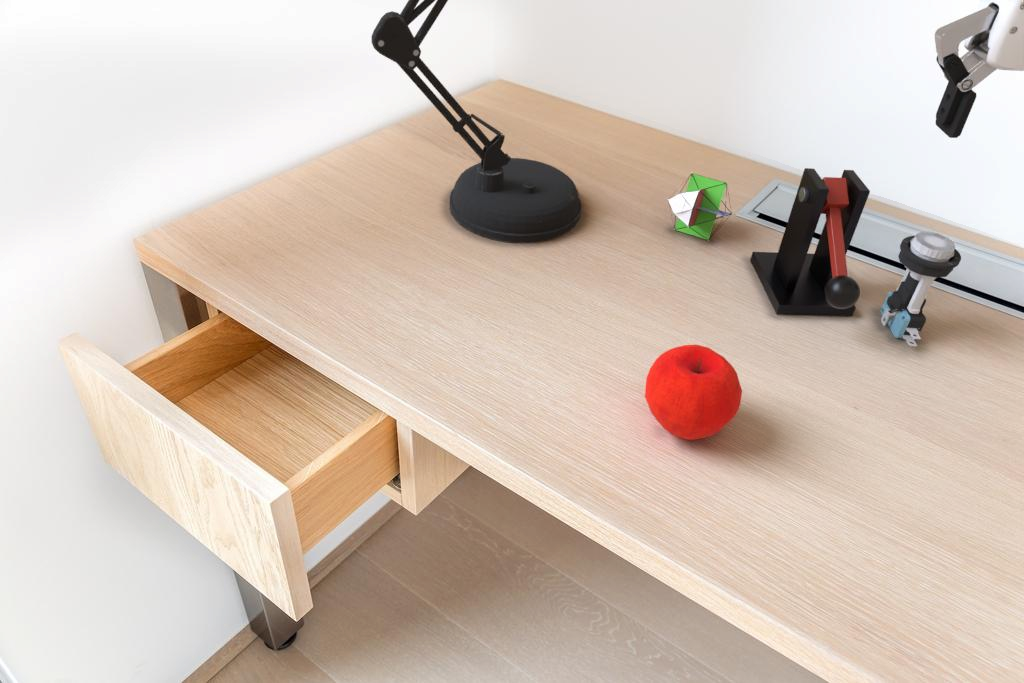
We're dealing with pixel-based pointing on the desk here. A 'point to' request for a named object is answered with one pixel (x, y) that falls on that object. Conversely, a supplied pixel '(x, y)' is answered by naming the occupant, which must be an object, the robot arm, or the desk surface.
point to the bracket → (792, 269)
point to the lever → (838, 247)
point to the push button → (917, 282)
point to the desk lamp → (484, 154)
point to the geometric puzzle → (699, 206)
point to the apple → (692, 391)
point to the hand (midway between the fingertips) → (1000, 132)
